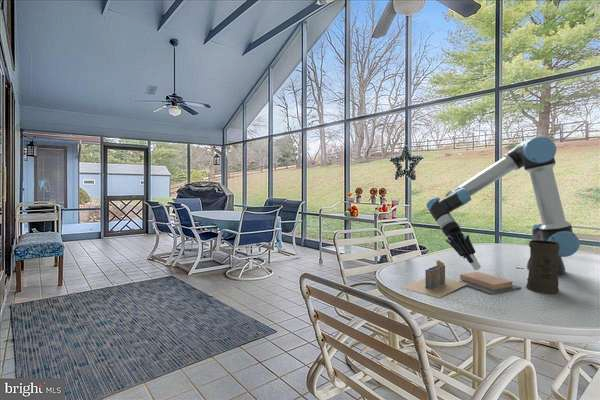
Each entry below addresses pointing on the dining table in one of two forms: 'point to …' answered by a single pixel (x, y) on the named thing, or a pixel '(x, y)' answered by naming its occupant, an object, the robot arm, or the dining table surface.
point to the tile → (486, 280)
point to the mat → (490, 289)
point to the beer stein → (543, 267)
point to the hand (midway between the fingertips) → (478, 268)
